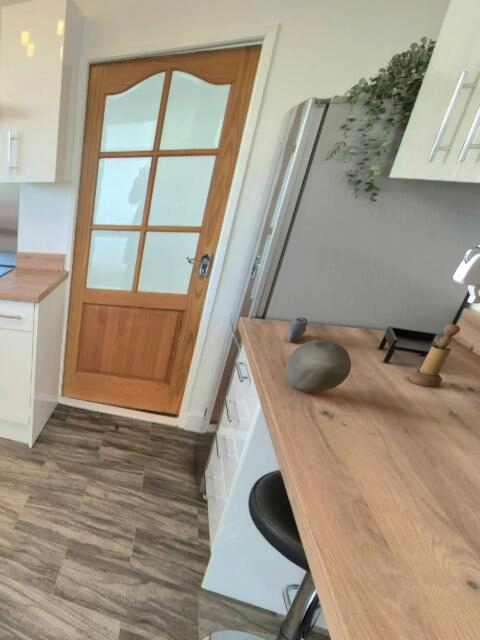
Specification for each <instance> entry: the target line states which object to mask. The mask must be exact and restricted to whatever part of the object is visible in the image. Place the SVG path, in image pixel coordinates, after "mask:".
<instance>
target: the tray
mask: <svg viewBox="0 0 480 640" xmlns="http://www.w3.org/2000/svg"><path fill="white" fill-rule="evenodd" d="M436 336H437V333H435V332H429V331H421V330H415V329H409V328H403V327H396V326H395V327H394V326H387V328H386V330H385V332H384V335H383V336H382V339H381V341H380V343H379V345H378V350H384V349H385V347H386V344H387V345H388V350H387V353H386V355H385V356H384V358H383V360H382V361H383V363H384V364H389V363H390V361H391V359H392V357H393V354H394V353H395V351H400V352H405V353H411V354H416V355H417V354H418V355H419V356H420V357H424V358H426V357H427V355H428V353H429V351H430V349H431V347H432V346H433V345H438V344H437V343H436V341H435V338H436Z"/></svg>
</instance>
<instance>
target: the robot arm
mask: <svg viewBox="0 0 480 640" xmlns="http://www.w3.org/2000/svg"><path fill="white" fill-rule="evenodd" d="M452 280H453V281H454V282H455V283H456V284H459V285H464V286H467V290H468V294H469V297H468V299H467V303H470V304H477V305H478V304H480V294H479V291H480V244H478V245H476V246H473V247H471V248H470V249H468V250H467V251H466V253H465V254H464V257H463V260H462V261H461V263H460V264H459V266H458V267H457V269H456V270H455V272H454V274H453V277H452Z"/></svg>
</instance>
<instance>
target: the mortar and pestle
mask: <svg viewBox="0 0 480 640" xmlns="http://www.w3.org/2000/svg"><path fill="white" fill-rule="evenodd" d="M460 331H461V328H460V326H459V325H457V324H455V323H449V324H447V325H446V326H445V327H444V328H443V333H444V336H443V337H442V338H440V339H439V343H438V344H437V345H433V346H432V347H431V349H430V351H429V353H428V355H426V356H425V359H424V361H423V363H422V365H421V367H420V369H417V370H414V371H412V372H411V373H410V375H409V377H408V381H410V382H411V383H414V384H416V385H420V386H423V387H428V388H429V387H431V388H437V387H439V386H440V385H441V382H442V381H443V378H442V376H441V375H440V372H441V370H442V368H443V366H444V365H445V362H446V361H447V358H448V357H449V355H450V354H451V351H452V349H451V348H450V347H448V346H449V345H450V344H451V343H452V337H454V336H455V335H457V334H458V333H460Z"/></svg>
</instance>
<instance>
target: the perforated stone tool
mask: <svg viewBox="0 0 480 640" xmlns="http://www.w3.org/2000/svg"><path fill="white" fill-rule="evenodd" d="M307 325H308V320H307V318H305V317H303V316H298V317H296V318H294V320H292V321H291V322H290V324H289V325H288V327H287V331H286V339H287V341H288V342H290V343H294V342H297V341H298V340H300V339H301V338H302V337H303V335H304V334H305V332H306V331H307Z"/></svg>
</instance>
